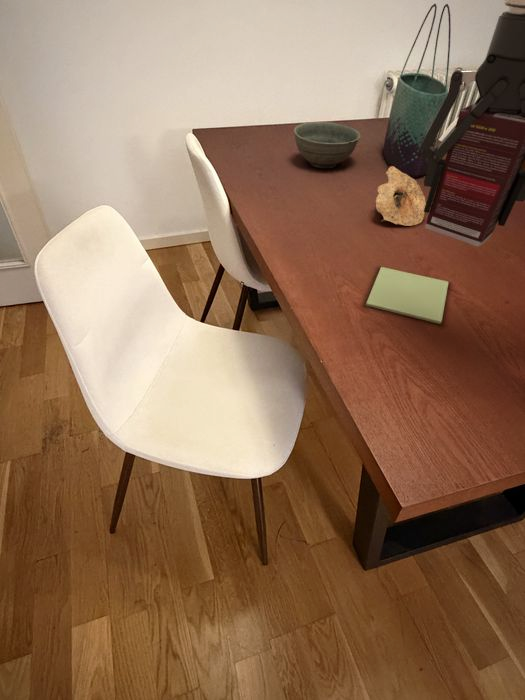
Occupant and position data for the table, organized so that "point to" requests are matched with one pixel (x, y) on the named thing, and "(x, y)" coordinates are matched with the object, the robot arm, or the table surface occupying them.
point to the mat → (409, 295)
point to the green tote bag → (414, 113)
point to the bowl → (325, 142)
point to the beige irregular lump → (401, 199)
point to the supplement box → (478, 177)
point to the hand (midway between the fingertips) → (463, 214)
